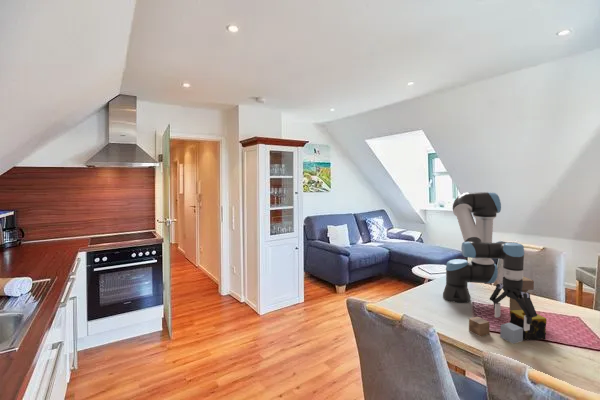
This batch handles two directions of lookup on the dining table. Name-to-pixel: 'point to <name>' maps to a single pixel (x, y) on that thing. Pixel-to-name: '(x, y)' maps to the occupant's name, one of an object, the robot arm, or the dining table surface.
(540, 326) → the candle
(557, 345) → the dining table surface
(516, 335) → the slate block
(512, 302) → the decorative block
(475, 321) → the walnut cube
